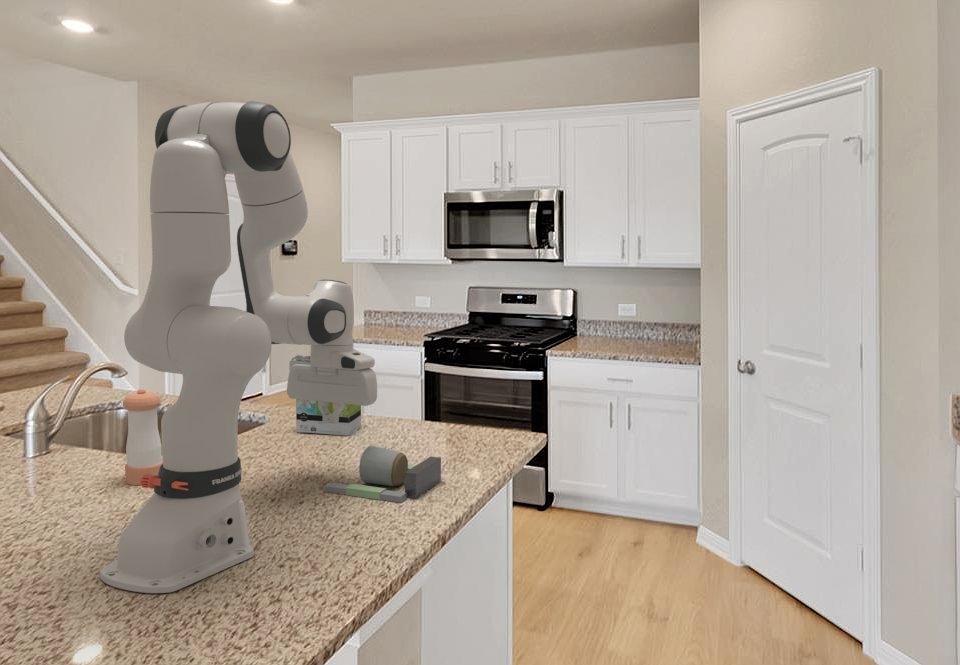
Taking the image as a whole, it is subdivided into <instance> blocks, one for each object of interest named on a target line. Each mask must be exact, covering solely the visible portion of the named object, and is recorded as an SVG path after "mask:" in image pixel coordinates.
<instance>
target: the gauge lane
mask: <svg viewBox="0 0 960 665" xmlns="http://www.w3.org/2000/svg"><path fill="white" fill-rule="evenodd" d="M415 466H416V465H413V464H408V470H410V469H411V468H413V467H415ZM408 470H407V471H408ZM323 487H324V489H323V490H324V491H326V492H325V493H330V492H333V493H332V494H337V493H339V494H338V495H344V494H346V495H345V496H349V495H351V496H352V497H356V496H357V498H362V497H364V498H363V499H369V498H370V499H372V500H376V499H377V501H384V500H386V501H385V502H391V503H392V502H393V503H398V504H399V503H400V504H401V503H403V502H404V501H405V500H407V497H406V493H405V492H403V491H395V490H389V489H387V488H385V487H377V486H370V485H364V484H357V483H352V484H346V483H338V482H329V483H327V484H325V485H324V486H323ZM351 496H350V497H351ZM370 499H369V500H370Z"/></svg>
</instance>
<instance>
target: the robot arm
mask: <svg viewBox="0 0 960 665" xmlns="http://www.w3.org/2000/svg"><path fill="white" fill-rule="evenodd" d="M291 136H292V135H291V131H290V127H289V124H288V122H287V120H286V118H285V117H284V115H283V114H282V113H281V112H280V111H279V110H278V109H277V108H276V107H275V106H274V105H272V104H269V103H266V102H262V101H261V102H260V101H253V100H251V101H247V102H235V101H229V102H228V101H226V102H225V101H223V102H222V101H219V100H217V101H208V102H201V103H195V104H191V105H187V104H184V105H183V104H182V105H178V106H175V107H172V108H169V109H168V110H166V111H164V112H163V113H162V114H161V115H160V117H159V118H158V119H157V123H156V126H155V131H154V143H155V147H156V150H155V152H154V155H153V161H152V166H151V167H152V168H151V174H150V190H149V191H150V192H149V206H150V209H149V211H150V225H151V226H150V228H151V232H150V233H151V250H152V251H151V253H152V255H151V256H152V258H151V259H152V261H151V270H150V271H151V272H150V277H149V282H148V285H147V288H146V292H145V295H144V298H143V301H142V303H141V305H140V307H139V308H138V310H137V311H136V312H135V313H133V314H132V315H131V317H130V318H129V320H128V321H127V324H126V326H125V329H124V335H123V336H124V337H123V338H124V346H125V349H126V352H128V355H129V356H130V357H131V358H132V359H133V360H134V361H135V362H137V363H139V364H142V365H144V366H146V367H148V368H151V369H152V370H155V371H156V372H157V371H158V372H161V373H169V374H177V375H182V385H181V389H180V392H179V395H178V398H177V401H176V402H175V403H173V404H172V405H171V406H169V407H168V408H167V409H166V410H165V411H164V413H163V415H162V416H161V422H160V424H161V425H160V426H161V430H160V431H161V450H162V461H163V464H162V465H161V466H160V469H159V472H158V476H156V475H153V476H152V475H149V474H144V475H143V476H142V478H141V479H140V481H141V482H140V483H142V484H140V485H139V486H141V487H142V488H145V489H147V488H149V489H153V492H154V493H153V495H152V496H151V497H150V498H149V499H148V501H147V502H146V503H145V504H144V506H143V507H142V508H141V509H140V510H139V511H138V513H137V514H135V517H133V518H132V520H131V521H130V522H129V523H128V525H126V527H125V528H124V529H123V530H122V532H121V533H120V536H119V541H118V548H117V559H115V560H114V561H112V562H110V563H109V564H107V565H106V566H104V567H103V568H101V569H100V570H99V571H100V572H99V578H100V580H101V581H102V582H104V583H105V584H106V585H108V586H111V587H113V588H117V589H121V590H125V591H129V592H130V591H131V592H137V593H145V594H165V593H173V592H176V591H179V590H181V589H183V588H185V587H188V586H190V585H192V584H194V583H197V582H199V581H202V580H203V579H206V578H208V577H211V576H213V575H215V574H217V573H219V572H221V571H224V570H226V569H228V568H230V567H233V566H235V565H237V564H239V563H241V562H244V561H246V560H248V559H251V558H253V557H254V556H255V550H254V547H253V546H252V545H251V544H252V540H251V538H250V534H249V530H248V521H247V514H246V507H245V501H244V499H243V497H242V493H241V489H240V483H241V481H242V472H243V468H242V462H241V458H240V457H239V453H238V451H239V449H238V448H239V446H238V437H239V436H238V432H239V430H238V425H239V424H238V420H239V411H240V405H241V401H242V398H243V397H244V396H243V395H244V393H245V391H246V389H247V387H248V384H249V383H250V382H251V380H252V379H253V377H254V376H256V374H258V373H259V372H260V371H261V370H262V369H264V367H265V365H266V363H267V362H268V360H269V358H270V355H271V350H272V345H281V344H285V345H298V346H301V345H304V346H305V345H306V346H307V345H308V346H309V347H310V349H309V352H310V353H309V355H301V354H300V355H299V354H298V355H295V356H293V357H292V358H291V360H290V361H289V368H288V369H289V371H288V377H287V384H286V385H287V386H286V395H287V396H288V397H289V399H293V400H294V399H295V400H296V399H302V400H312V401H318V407H319V409H320V411H321V413H322V415H323V423H331V424H337V423H338V422H339V414H340V413H341V411H342V409H343V408H344V404H352V405H361V407H362V406H364V407H366V406H371V405H373V404H375V403H376V402H377V399H378V382H377V374H376V372H375V370H374V369H373V367H374V366H375V364H376V363H375V362H376V360H375V358H374V357H373V356H370V355H369V354H365V353H364V352H361V351H360V350H357V349H355V348H354V340H353V327H354V324H355V306H354V295H353V291H352V288H351V285H350V284H348V283H347V282H345V281H340V280H334V279H319V280H316V281H315V283H314V285H313V289H312V291H310V292H309V293H307V294H305V295H301V296H299V295H283V294H280V293H278V292H277V291H276V290H275V288H274V284H273V283H274V282H273V275H272V270H271V269H272V268H271V262H270V252H271V250H273V249H274V248H277V247H279V246H283V244H285V243H287V242H289V241H291V240H292V239H294V238H295V237H296V236H297V235H298V234H299V233H301V231H302V230H303V228H304V227H305V225H306V223H307V221H308V215H309V211H308V202H307V200H306V195H305V192H304V187H303V185H302V180H301V176H300V175H299V172H298V169H297V166H296V164H295V161H294V159H293V157H292V154H291V153H290V152H291V151H290V150H291V144H292V143H291V141H292V140H291ZM227 174H228V175H230V174H231V175H232V174H233V175H234V181H235V185H236V189H237V193H238V197H239V200H240V203H241V207H242V212H243V220H242V223H241V224H240V225H239V227H238V228H237V234H236V245H237V246H236V247H237V253H238V254H237V255H238V262H239V267H240V272H241V273H240V274H241V279H242V286H243V290H244V291H243V292H244V296H245V297H244V298H245V301H246V302H245V303H246V306H245V307H246V310H242V309H239V308H236V307H232V306H217V305H216V306H215V305H211V304H210V303H211V297H212V292H213V289H214V288H215V287H214V286H215V284H216V282H217V280H218V279H219V278H220V277H221V276H223V274H225V273H226V272H227V271H228V269H229V267H230V265H231V264H232V263H231V262H232V251H231V250H232V249H231V248H232V246H231V228H230V226H231V225H230V207H229V197H228V196H229V195H228V190H227V184H226V182H227V181H226V176H227ZM329 402H332V403H333V408H335V410H334V412H333V414H330V412H329V410H328V408H327V405H329Z"/></svg>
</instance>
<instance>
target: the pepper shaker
mask: <svg viewBox="0 0 960 665" xmlns="http://www.w3.org/2000/svg"><path fill="white" fill-rule="evenodd" d="M161 403H162V400H161V398H160V397H159V395H158V394H157V393H154V392H150V391H147V390H146V389H144V388H139V389H138V390H137V392H133V393H130V394H128V395H126V397H125V398H124V399H123V403H122V405H123V407H124V409H125V410H126V411H127V427H128V428H127V430H128V431H127V438H126V446H125V453H126V454H125V455H126V463H125V465H124V472H125V473H124V475H125V478H124V479H125V484H128V485H130V486H141V485H140V484H142V483H140V482H141V481H140V479H141V478H142V476H143V475H144V474H149V475H152V476H153V475H156V476H158V472H159V469H160V466H161V465H162V464H163V458H162V440H161V438H160V432H159V426H158V425H159V424H158V423H159V421H158V408H159V407H160V406H161Z"/></svg>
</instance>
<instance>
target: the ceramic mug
mask: <svg viewBox="0 0 960 665" xmlns="http://www.w3.org/2000/svg"><path fill="white" fill-rule="evenodd" d="M359 460H360V462H359V466H358V468H359V469H358V472H359V478H360V480H361V481H362V482H363V483H366V484H373V485H378V486H379V485H380V486H386V487H398V486H400V485H401V484H403V482H405V472H407V470H408V465H409V460H408V458H407V456H406V454H405V453H403V452H401V451H398V450H394V449H390V448H385V447H380V446H376V445H369V446H367V447H366V448H365V449H364V450H363V452H362V455H361V457H360V459H359Z"/></svg>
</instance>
